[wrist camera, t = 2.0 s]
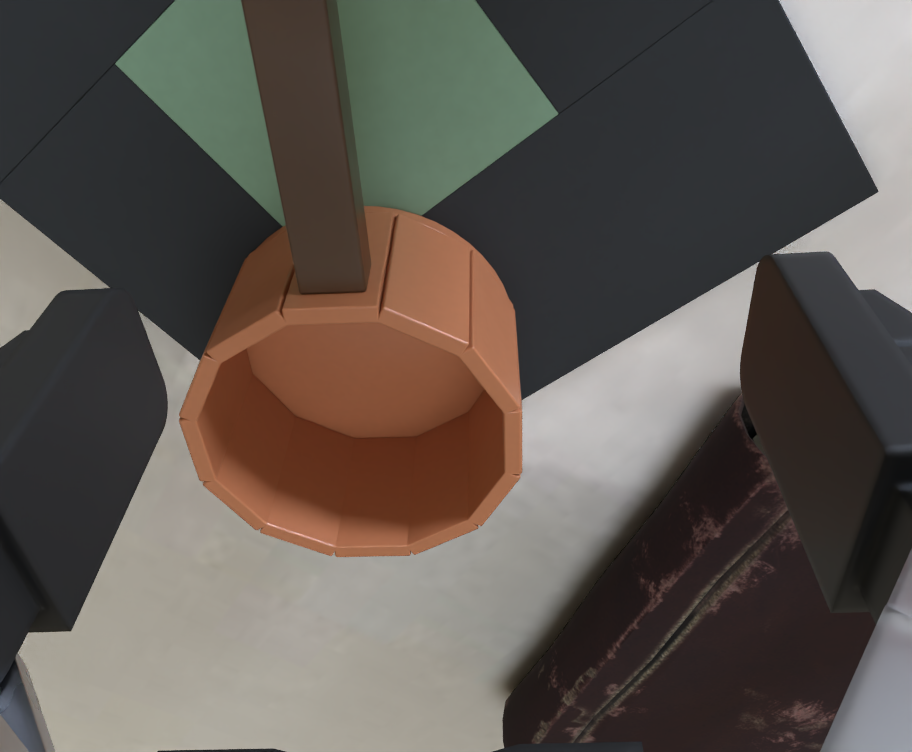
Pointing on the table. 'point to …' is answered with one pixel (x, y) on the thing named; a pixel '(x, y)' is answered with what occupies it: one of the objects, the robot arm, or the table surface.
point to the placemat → (435, 148)
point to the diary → (700, 626)
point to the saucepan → (351, 340)
